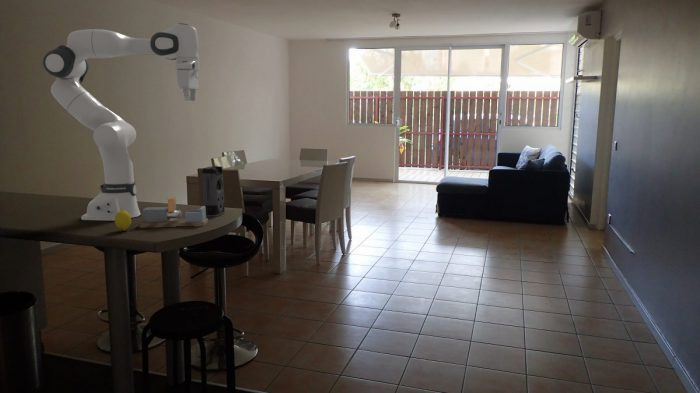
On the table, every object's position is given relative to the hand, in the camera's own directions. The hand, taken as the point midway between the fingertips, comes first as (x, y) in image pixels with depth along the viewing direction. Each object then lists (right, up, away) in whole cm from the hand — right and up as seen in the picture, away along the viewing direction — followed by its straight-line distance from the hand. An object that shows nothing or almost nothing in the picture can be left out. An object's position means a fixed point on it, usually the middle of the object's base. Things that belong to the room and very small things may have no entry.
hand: (190, 100), depth 216 cm
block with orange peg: (-8, -47, -10) cm, 49 cm away
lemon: (-19, -52, -19) cm, 58 cm away
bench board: (-3, -50, -10) cm, 51 cm away
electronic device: (+8, -47, +9) cm, 48 cm away
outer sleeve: (-10, -48, -10) cm, 50 cm away
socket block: (+5, -48, -9) cm, 49 cm away
